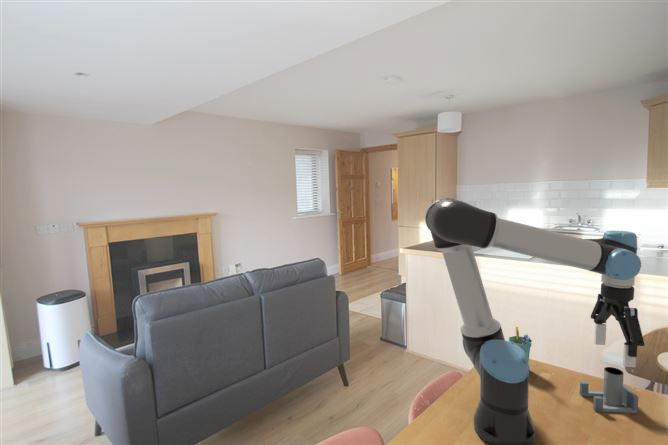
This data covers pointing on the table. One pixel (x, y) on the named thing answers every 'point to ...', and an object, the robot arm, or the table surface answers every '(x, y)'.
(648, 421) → the table surface
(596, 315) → the robot arm
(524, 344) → the cup
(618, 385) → the grey tube
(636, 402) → the endcap rail
